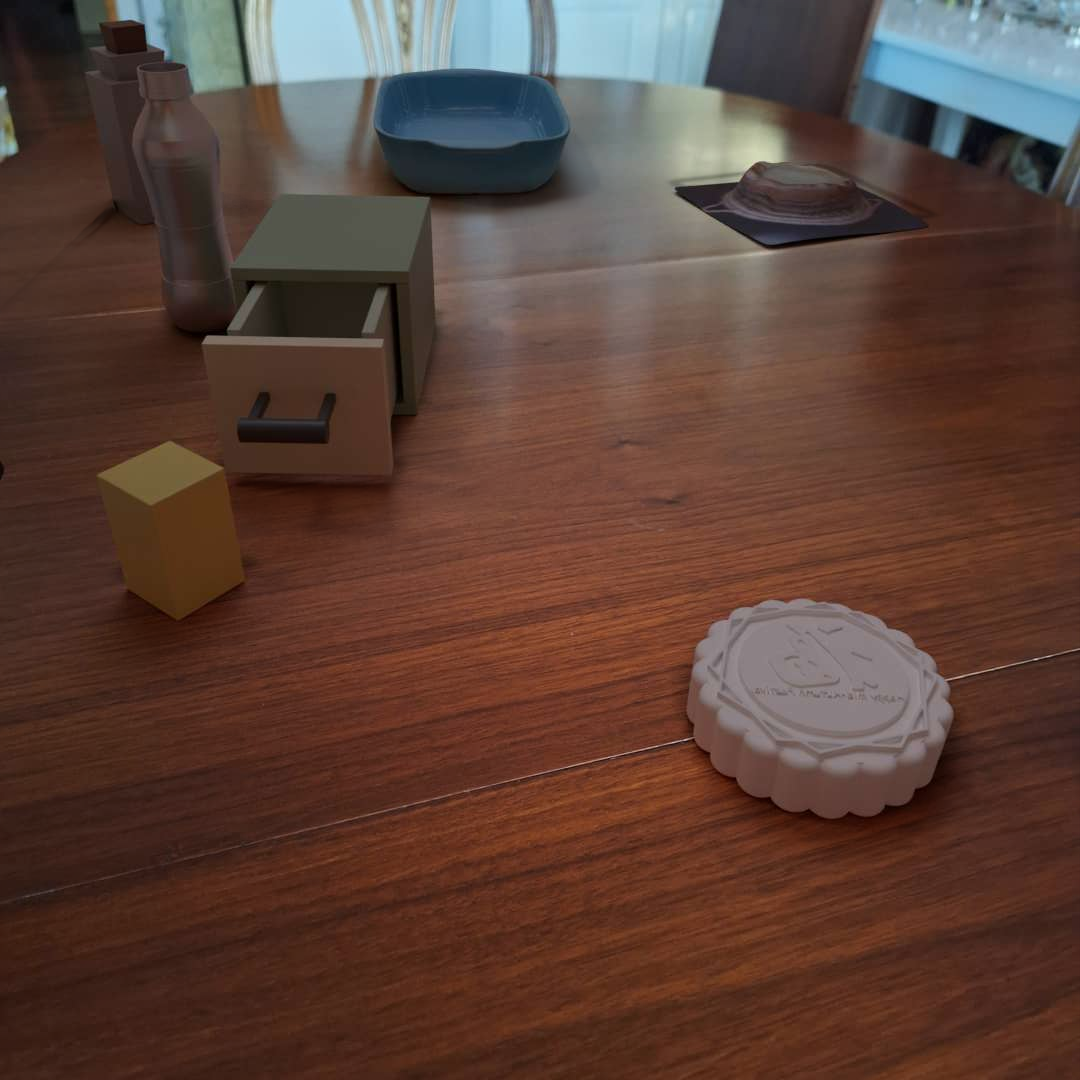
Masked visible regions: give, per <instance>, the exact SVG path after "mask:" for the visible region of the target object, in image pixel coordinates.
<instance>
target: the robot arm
mask: <svg viewBox="0 0 1080 1080" xmlns="http://www.w3.org/2000/svg"><path fill="white" fill-rule="evenodd" d="M4 473H5V466H4V464H3V463H2V462H1V461H0V481H1V479H2V478H3V476H4Z"/></svg>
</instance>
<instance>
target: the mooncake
mask: <svg viewBox="0 0 1080 1080" xmlns="http://www.w3.org/2000/svg"><path fill="white" fill-rule="evenodd" d="M937 672H938V667H937V663H936V661H935V660H934V658H933V657H932V655H930V654H928V653H927V652H925V651H923V650H921V649H919V648H916V643H915V642H914V640H913V639H912V638H911V636H910V635H908V634H907V633H905V632H904V631H901V630H898V629H893V628H888V626H887V625H886V623H885V622H884V621H883V620H882V619H880V618H879V617H877V616H876V615H872V614H870V613H869V614H868V613H864V612H863V611H862V610H861V611H860V610H852V609H851V608H849V607H848V606H846V605H843V604H841V603H833V602H832V603H831V602H830V603H828V602H827V601H820V602H816V601H814V600H811V599H808V598H796V599H793V600H790V601H789V602H784V601H781V600H776V599H768V600H764V601H762V602H760V603H759V604H757V605H754V606H753V607H749V606H744V607H739V608H736V609H735V610H733V611H732V612H730V614H729V616H728V618H727V619H721V620H718V621H716V622H714V623H713V624H711V625H710V626H709V628H708V630H707V636H706V638H704V639H702V640H701V641H699V642H698V643H697V644H696V646H695V650H694V656H693V662H692V668H691V675H690V681H689V688H688V694H687V695H688V696H687V701H686V702H687V703H686V715H687V718H688V719H689V721H690V722H691V723H692V724H693V733H692V734H693V735H692V736H693V738H694V742H695V744H696V745H697V746H698V747H699V748H701V749H702V750H703V751H705V752H707V753H709V759H710V763H711V765H712V766H713V768H714V769H715V770H716V771H717V772H719V773H720V774H721V775H723V776H725V777H730V778H736V783H737V784H738V787H740V789H741V790H742V791H743V792H744V793H746V794H748V795H750V796H752V797H755V798H761V799H765V798H770V800H771V801H772V802H773V803H774V804H775V805H776V806H777V807H778V808H780V809H782V810H784V811H786V812H790V813H801V812H805V811H807V810H810V811H811V812H812V813H813V814H815V815H817V816H818V817H821V818H824V819H828V820H835V819H840V818H842V817H844V816H846V815H847V814H848V813H851V814H853V815H855V816H858V817H865V818H869V817H873V816H876V815H878V814H880V813H882V811H883V810H884V809H885V806H889V807H900V806H903V805H905V804H907V803H908V802H910V801H911V800H912V798H913V796H914V794H915V790H916V789H921V788H924V787H926V786H927V785H928V784H929V783H930V782H931V781H932V779H933V777H934V773H935V770H936V767H937V765H938V761H939V760H940V757H941V754H942V752H943V750H944V746H945V743H946V740H947V738H948V736H949V735H948V734H949V731H950V729H951V726H952V724H953V720H954V716H955V715H954V713H955V712H954V710H953V707H952V705H951V704H950V703H949V699H950V696H951V687H950V685H949V682H948V681H947V680H946V679H945V678H944V677H943V676H941V675H940V674H938V673H937Z"/></svg>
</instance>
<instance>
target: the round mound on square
mask: <svg viewBox="0 0 1080 1080" xmlns="http://www.w3.org/2000/svg"><path fill="white" fill-rule="evenodd" d="M674 190H675V191H676V192H677V193H679V194H680V195H682V196H683V197H684V198H686V199H687V200H689V201H690V202H692V203H693V204H694V205H695V206H697V207H698V208H699V209H701V210H702V211H703V212H705V214H707V215H709V216H711V217H712V218H714V219H716V220H718V221H720V222H721V223H724V224H726V225H728V226H729V227H730V228H733V229H735V230H737V231H739V232H740V233H743V234H745V235H747V236H748V237H750V238H752V239H754V240H756V241H758V242H760V243H762V244H765V245H767V246H770V245H771V246H774V245H780V244H784V243H785V244H786V243H791V242H797V241H798V242H799V241H804V240H805V241H806V240H812V239H813V240H814V239H821V238H831V237H832V238H833V237H841V236H852V235H853V236H854V235H866V234H867V235H869V234H881V233H893V232H900V231H901V232H902V231H908V230H909V231H911V230H917V229H923V228H927V227H929V225H930V224H929V223H928V222H927V221H925V220H923V219H921V218H920V217H919V216H917V215H914V214H913V213H911V212H909V211H908V210H907V209H904V208H903V207H901V206H899V205H897V204H896V203H894V202H892V201H890V200H888V199H886V198H884V197H882V196H879V195H877V194H875V193H872V192H871V191H868V190H866V189H864V188H863V187H862V188H861V187H859V186H858V185H857V183H856V181H854V180H853V179H851V178H843V177H842V176H840V174H837V173H834V172H831V171H830V170H828V169H825V168H820V167H818V166H815V165H801V164H798V163H795V162H789V161H779V162H769V161H766V160H765V161H764V160H761V161H757V162H755V163H754V164H752V165H751V166H750V167H749V168H748V169H747V170H746V171H745V172H744V174H743V175H742V177H741V178H740V180H739V181H733V182H732V181H731V182H723V183H721V182H720V183H709V184H708V183H707V184H695V185H683V186H676V187H674Z"/></svg>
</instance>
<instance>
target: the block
mask: <svg viewBox="0 0 1080 1080" xmlns="http://www.w3.org/2000/svg"><path fill="white" fill-rule="evenodd" d="M96 479H97V483H98V486H99V490H100V494H101V498H102V501H103V505H104V509H105V513H106V517H107V520H108V523H109V527H110V531H111V534H112V539H113V542H114V546H115V549H116V553H117V557H118V560H119V563H120V568H121V572H122V576H123V579H124V583H125V587H126V589H127V590H129V591H130V592H131V593H133V594H135V595H136V596H138V597H140V598H141V599H143V600H144V601H146V602H147V603H149V604H150V605H152V606H154V607H155V608H157V609H158V610H160V611H161V612H163V613H165V614H166V615H167V616H169V617H171V618H172V619H174V620H175V621H181V620H183V619H185V618H186V617H187V616H189V615H191V614H192V613H194V612H196V611H198V610H200V608H202V607H204V606H206V605H208V604H209V603H210V602H212V601H214V600H216V599H217V598H219V597H220V596H222V595H224V594H225V593H228V592H229V591H231V590H232V589H234V588H235V587H237V586H239V585H241V584H242V583H244V582H245V580H246V579H245V573H244V568H243V563H242V557H241V552H240V546H239V541H238V535H237V530H236V525H235V519H234V513H233V509H232V503H231V498H230V492H229V487H228V482H227V476H226V472H225V468H224V466H221V465H219V464H217V463H215V462H213V461H211V460H209V459H207V458H205V457H203V456H201V455H200V454H197V453H195V452H193V451H191V450H189V449H187V448H186V447H184V446H181V445H180V444H177V443H176V442H173V441H172V440H168V441H166V442H164V443H162V444H159V445H158V446H155V447H153V448H150V449H149V450H147V451H144V452H143V453H141V454H139V455H136V456H134V457H132V458H129V459H128V460H126V461H123V462H121V463H119V464H117V465H115V466H112V467H111V468H108V469H106V470H104V471H102V472H100V473H98V474H96Z"/></svg>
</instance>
